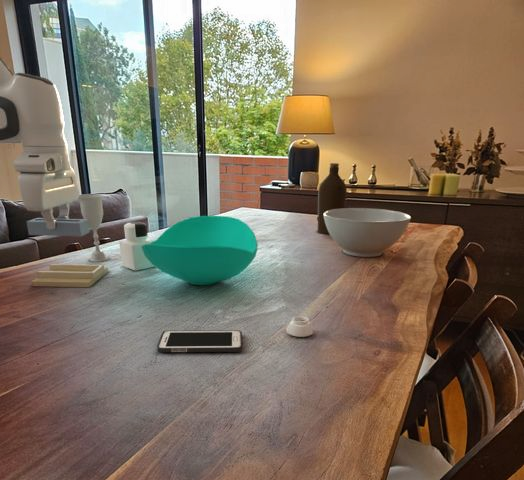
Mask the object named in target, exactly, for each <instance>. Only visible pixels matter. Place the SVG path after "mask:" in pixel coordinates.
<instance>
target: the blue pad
mask: <svg viewBox="0 0 524 480" xmlns="http://www.w3.org/2000/svg"><path fill="white" fill-rule="evenodd" d="M54 220H56V221H57V228H55V229H48V228H47V226H46V221H45V220H44V218H43V217H36V218H33V219H30V220H26V226H27V227H26V228H27V232H28V235H29V236H48V237H49V236H50V237H78V238H79V237H80V238H81V237H83V236H85V235H87V234H89V233H90V228H89V224H88V219H84V218H69V219H59V218H58V217H57V218H56V217H54Z"/></svg>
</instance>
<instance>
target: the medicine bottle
mask: <svg viewBox="0 0 524 480" xmlns="http://www.w3.org/2000/svg"><path fill="white" fill-rule="evenodd" d="M123 231H124V239H122V240H119V250H120V259H121V265H122V267H125V268H127V269H130V270H132V271H141V270H147V269H150V268H151V269H152V268H156V267H155V266H154V265H153V264H152V263H151V262H150V261H149V260H148V259H147V258H146V257H145V255H144V253H143V250H142V246H143V245H144V244H150V243H152V242H154V241H155V240H151V239H148V238H149V235H148V226H147V224H146V223H144V222H141V221H132V222H127V223H125V224H124V225H123Z"/></svg>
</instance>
